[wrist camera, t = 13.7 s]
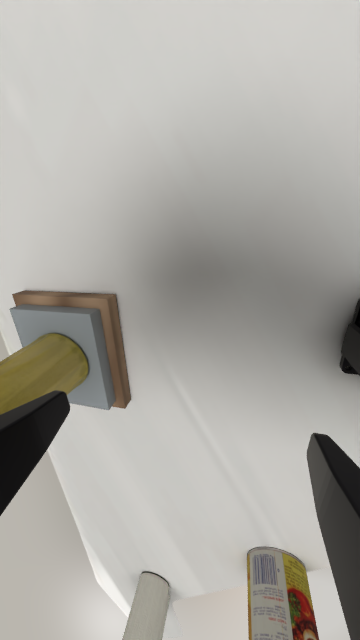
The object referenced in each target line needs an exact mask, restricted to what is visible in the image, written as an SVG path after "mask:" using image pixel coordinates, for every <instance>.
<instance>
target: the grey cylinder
mask: <svg viewBox="0 0 360 640" xmlns="http://www.w3.org/2000/svg"><path fill="white" fill-rule="evenodd" d="M168 591H169V586H168V583H167V582H166V581H165V580H163V579H162V578H160V577H159V576H157V575H154V574H151V573H142V574H141V576H140V579H139V583H138V586H137V590H136V593H135V597H134V600H133V604H132V607H131V611H130V614H129V618H128V621H127V625H126V629H125V632H124V636H123V639H122V640H162V637H163V631H164V626H165V621H166V616H167V610H168V605H169V600H170V596H169V595H168Z"/></svg>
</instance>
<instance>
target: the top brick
mask: <svg viewBox="0 0 360 640" xmlns="http://www.w3.org/2000/svg"><path fill="white" fill-rule="evenodd" d="M10 312H11V315H12V318H13V321H14V323H15V326H16V329H17V332H18V335H19V338H20V341H21V344H22V347H23V348H24V347H25V346H27V345H29V344H30V343H32V342H33V341H35V340H36V339H38V338H39V337H40V336H42V335H45V334H50V333H55V334H60V335H63V336H65V337H67V338H69V339H70V340H72V341H73V342H74V343H76V344H77V345H78V346H79V348H80V349H81V350H82V352H83V353H84V355H85V357H86V359H87V363H88V375H87V377H86V379H85V380H84V382H83V383H82V384H80V385H79V386H77V387H76V388H75V389H74V390H72V391H71V392H70V393H69V394H68V395H67V397H68V401H69V403H72V404H77V405H83V406H89V407H94V408H100V409H105V410H109V409H110V408H111V407H112V405H113V404H114V402H115V401H116V398H115V392H114V387H113V381H112V376H111V370H110V365H109V359H108V353H107V348H106V342H105V337H104V331H103V326H102V320H101V314H100V309H95V308H79V307H62V306H46V305H29V304H22V305H19V306H16V307H13V308H11V309H10Z"/></svg>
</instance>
